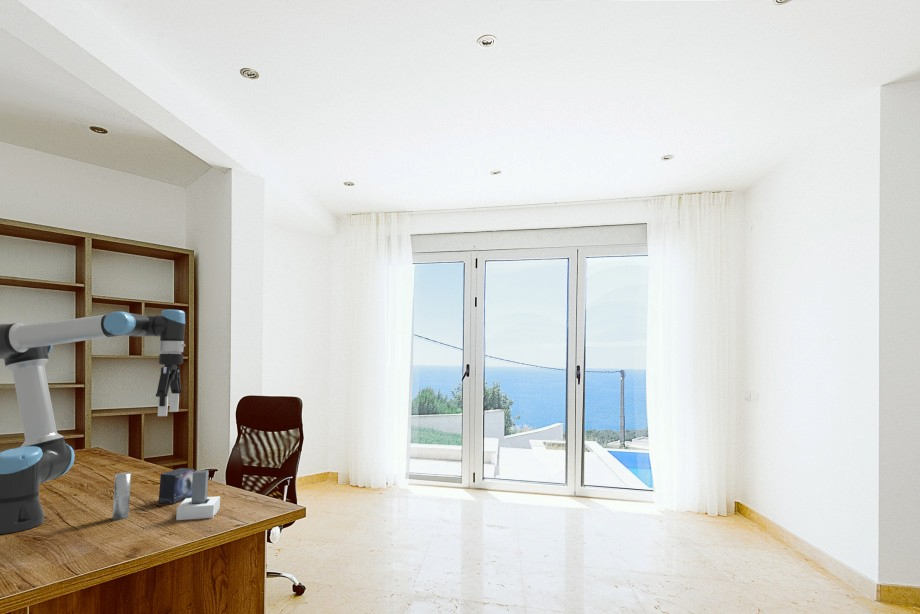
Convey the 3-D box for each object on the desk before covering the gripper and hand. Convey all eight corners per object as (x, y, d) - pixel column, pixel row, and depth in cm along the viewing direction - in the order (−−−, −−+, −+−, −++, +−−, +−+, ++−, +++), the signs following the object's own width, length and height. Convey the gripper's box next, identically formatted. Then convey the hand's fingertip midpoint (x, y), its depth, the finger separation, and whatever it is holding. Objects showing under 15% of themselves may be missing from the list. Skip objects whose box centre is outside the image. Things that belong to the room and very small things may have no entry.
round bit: (110, 520, 167) (113, 475, 168) (115, 516, 171) (118, 472, 172) (125, 519, 168) (128, 475, 169) (130, 515, 172) (133, 472, 173)
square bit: (190, 516, 171) (192, 473, 172) (193, 512, 175) (195, 470, 176) (203, 515, 172) (205, 472, 173) (206, 511, 176) (208, 469, 177)
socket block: (176, 520, 167) (176, 507, 167) (185, 510, 178) (185, 498, 178) (213, 517, 170) (213, 505, 170) (219, 507, 180) (220, 496, 181)
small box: (173, 504, 184) (174, 474, 185) (157, 503, 185) (159, 473, 186) (193, 496, 194) (195, 468, 195) (178, 495, 196) (180, 467, 197)
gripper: (173, 353, 172) (169, 417, 170) (191, 353, 196) (189, 409, 194) (148, 353, 170) (144, 418, 168) (170, 353, 194) (167, 410, 192)
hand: (168, 413), depth 181 cm, fingers open, 13 cm apart
